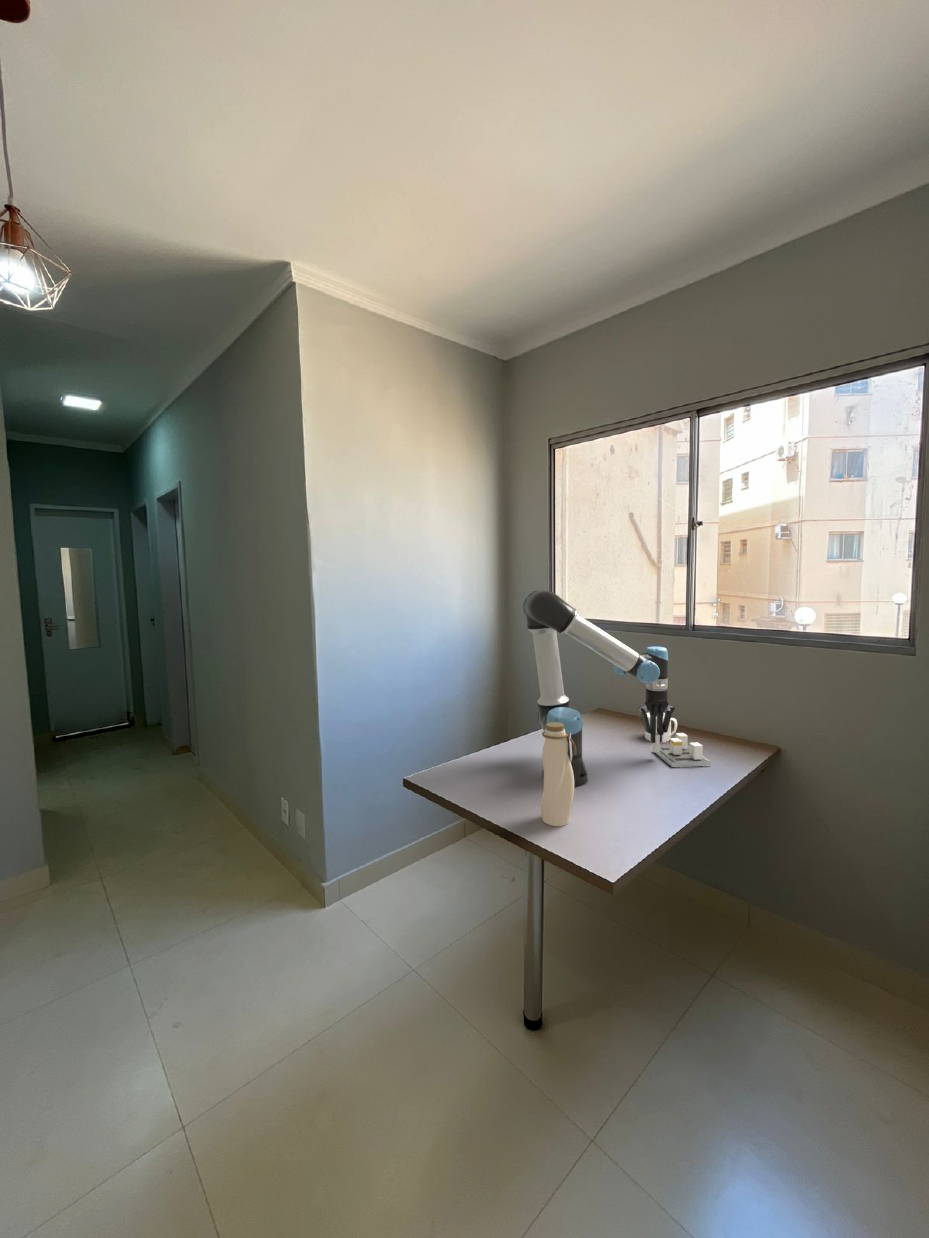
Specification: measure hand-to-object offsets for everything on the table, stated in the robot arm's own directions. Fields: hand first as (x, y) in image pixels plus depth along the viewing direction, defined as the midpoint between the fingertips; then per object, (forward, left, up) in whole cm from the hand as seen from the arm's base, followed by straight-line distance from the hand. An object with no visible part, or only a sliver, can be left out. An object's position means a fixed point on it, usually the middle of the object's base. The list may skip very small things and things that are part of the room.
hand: (656, 750), depth 186 cm
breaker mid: (+7, 0, -1) cm, 8 cm away
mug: (+11, +21, -4) cm, 25 cm away
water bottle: (-47, -41, -4) cm, 62 cm away
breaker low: (+12, -5, -1) cm, 14 cm away
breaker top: (+12, +6, -1) cm, 14 cm away
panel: (+9, 0, -4) cm, 10 cm away
